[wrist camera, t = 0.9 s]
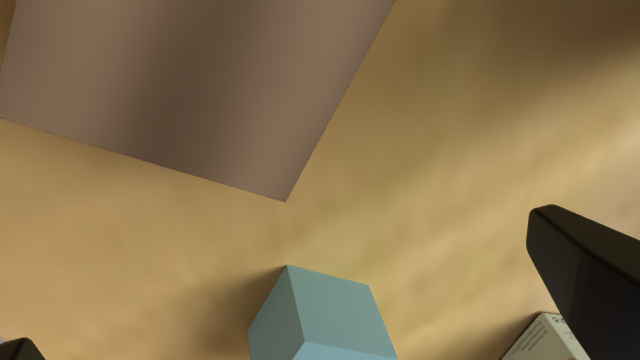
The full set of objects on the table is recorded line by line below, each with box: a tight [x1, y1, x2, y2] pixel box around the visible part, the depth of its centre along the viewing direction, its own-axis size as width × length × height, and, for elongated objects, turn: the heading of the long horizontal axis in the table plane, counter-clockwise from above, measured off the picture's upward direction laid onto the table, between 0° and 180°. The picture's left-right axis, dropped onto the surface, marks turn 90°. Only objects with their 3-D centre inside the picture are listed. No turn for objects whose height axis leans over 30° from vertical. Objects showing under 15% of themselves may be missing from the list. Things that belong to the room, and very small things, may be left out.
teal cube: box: [247, 265, 398, 360], centre depth 27 cm, size 5×5×5 cm
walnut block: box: [0, 0, 395, 202], centre depth 18 cm, size 10×10×4 cm
